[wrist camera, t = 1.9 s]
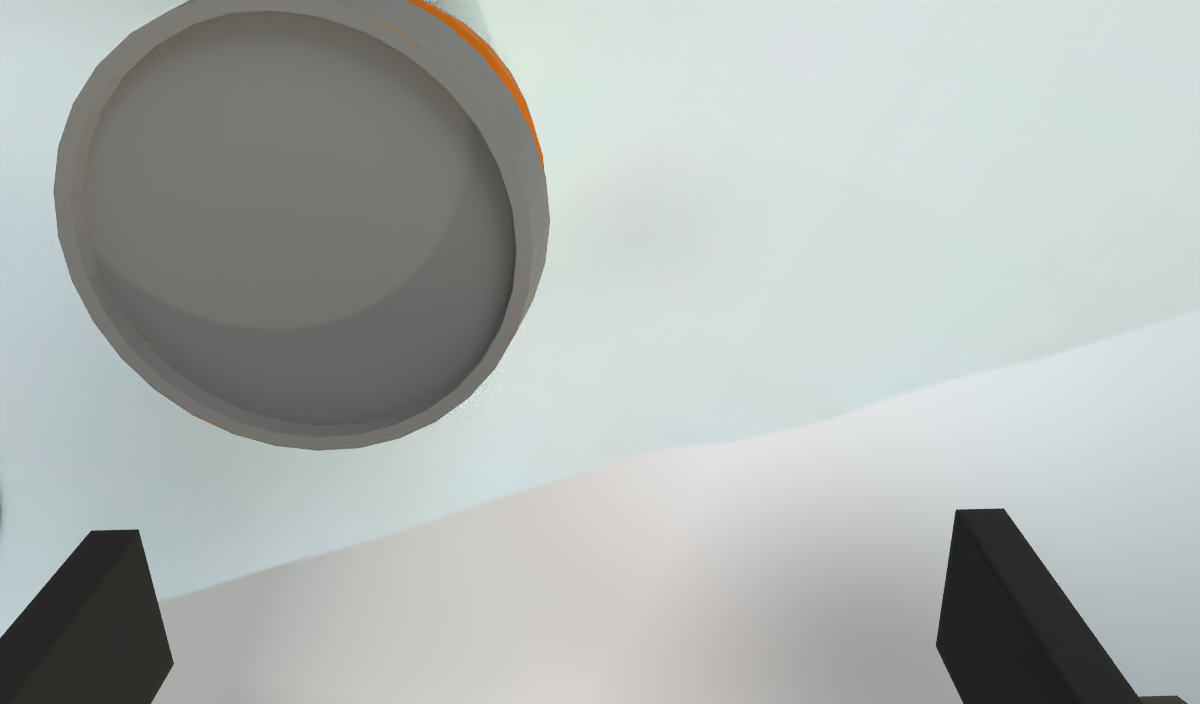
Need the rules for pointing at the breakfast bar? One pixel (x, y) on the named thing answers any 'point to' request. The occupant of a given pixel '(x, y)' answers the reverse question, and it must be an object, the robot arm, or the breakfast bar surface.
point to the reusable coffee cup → (305, 214)
